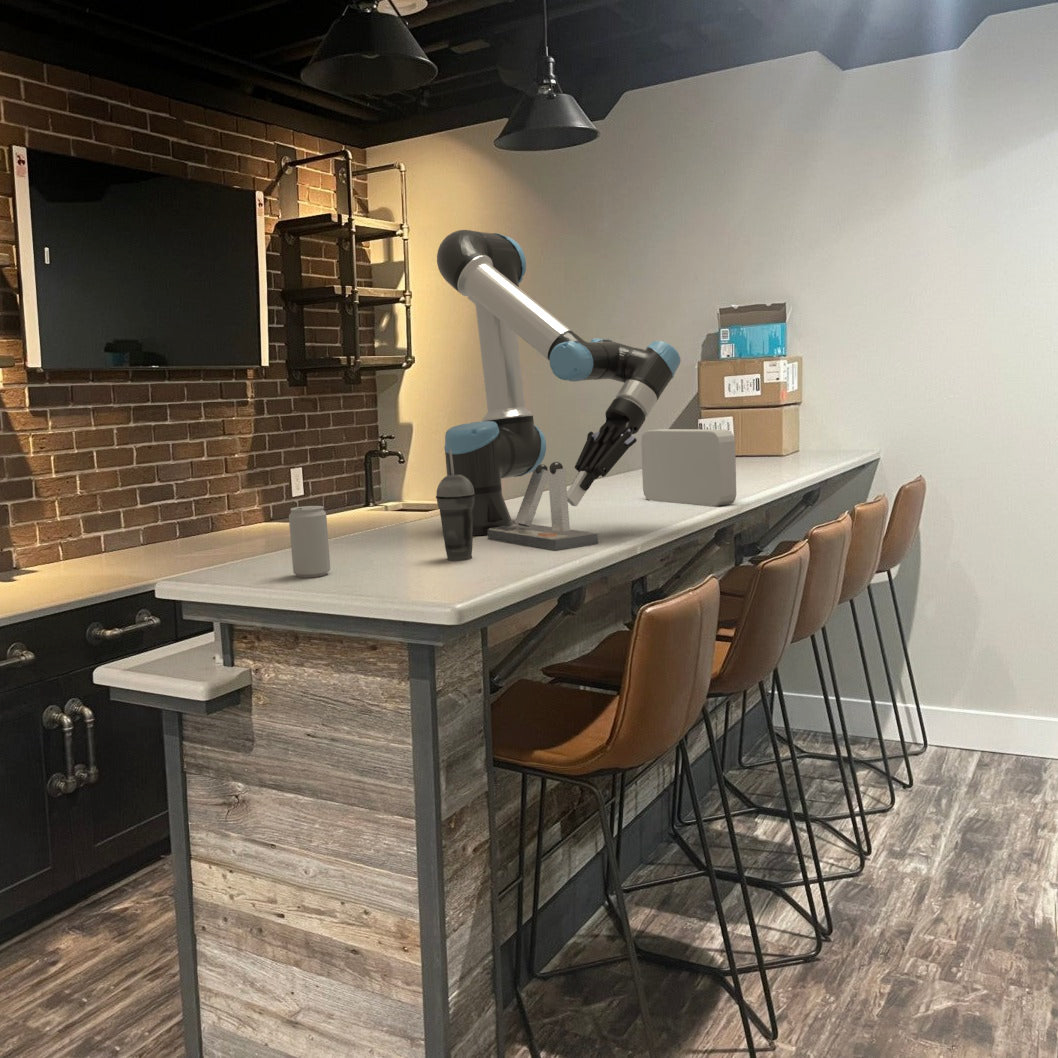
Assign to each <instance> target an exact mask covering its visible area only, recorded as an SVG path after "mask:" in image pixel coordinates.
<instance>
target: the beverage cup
mask: <svg viewBox="0 0 1058 1058" xmlns="http://www.w3.org/2000/svg"><path fill="white" fill-rule="evenodd" d="M449 456H450V465H451V474H452V475H448V476H447V475H446V476H445V477H444V478H442V479H441V480H440V482H439V484H438V486H437V487H436V488H437V489H436V495H435V499H436V503H437V506H438V509H439V515H440V521H441V522H440V523H441V528H442V534H443V541H444V547H445V553H446V556H447V557H446V559H447V560H448V561H454V562H455V561H457V562H458V561H466V560H467V561H468V560H471V559H473V558H472V557H473V555H472V554H473V545H474V543H473V536H474V535H473V507H474V502H475V493H474V488H473V485H472V483H471V482H470V481H469V480H468V479H467V478H466V477H465V476H463V475H460V474H454V468H453V459H452V450H449Z"/></svg>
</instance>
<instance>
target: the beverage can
mask: <svg viewBox="0 0 1058 1058" xmlns="http://www.w3.org/2000/svg"><path fill="white" fill-rule="evenodd" d="M327 518H328V517H327V512H326V511H325V510H324V506H323V505H306V506H296V507H291V508H290V513H289V514H288V521H289V522H288V523H289V524H288V525H289V535H290V548H291V559H292V560H291V563H292V572H293V574H295V575H296V577H297V578H305V579H307V578H310V579H311V578H320V577H323V576H327V574H328V572H330V571H331V559H330V545H329V533H328V532H329V531H328V519H327Z"/></svg>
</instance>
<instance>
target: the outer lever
mask: <svg viewBox="0 0 1058 1058" xmlns="http://www.w3.org/2000/svg"><path fill="white" fill-rule="evenodd" d="M547 470H548V480H547V482H548V493H549V506H550V518H551V527H552V530H555V531H562V532H564V531H570V530H571V528H570V527H571V526H570V514H569V502H568V499H567V491H568V488H567V486H568V485H567V474H566V473H567V472H566V468H565V467H564V466H563V465H562V463H561V462H559V461H553V462H552V463H551V464H550V465H549V467H548V469H547Z"/></svg>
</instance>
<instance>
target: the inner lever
mask: <svg viewBox="0 0 1058 1058" xmlns="http://www.w3.org/2000/svg"><path fill="white" fill-rule="evenodd" d="M547 469H549V467H548V466H547V464H543V463H541V464H540V465H539V466H537V468H536V469H534V471H533V472H532V474H531V477H530V479H529V481H528V485H527V488H526V491H525V492H524V495H523V499H522V501H521V503H520V506H519V509H518V512H517V515H516V518H515V521H514V524H516V525H521V526H528V527H530V526H531V524H533V520H534V519H535V516H536V515H535V514H536V512H537V510H538V507H539V503H540V501H541V498H542V497H543V496H542V495H543V493H544V490H545V488H546V486H547V482H548V470H547Z"/></svg>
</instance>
